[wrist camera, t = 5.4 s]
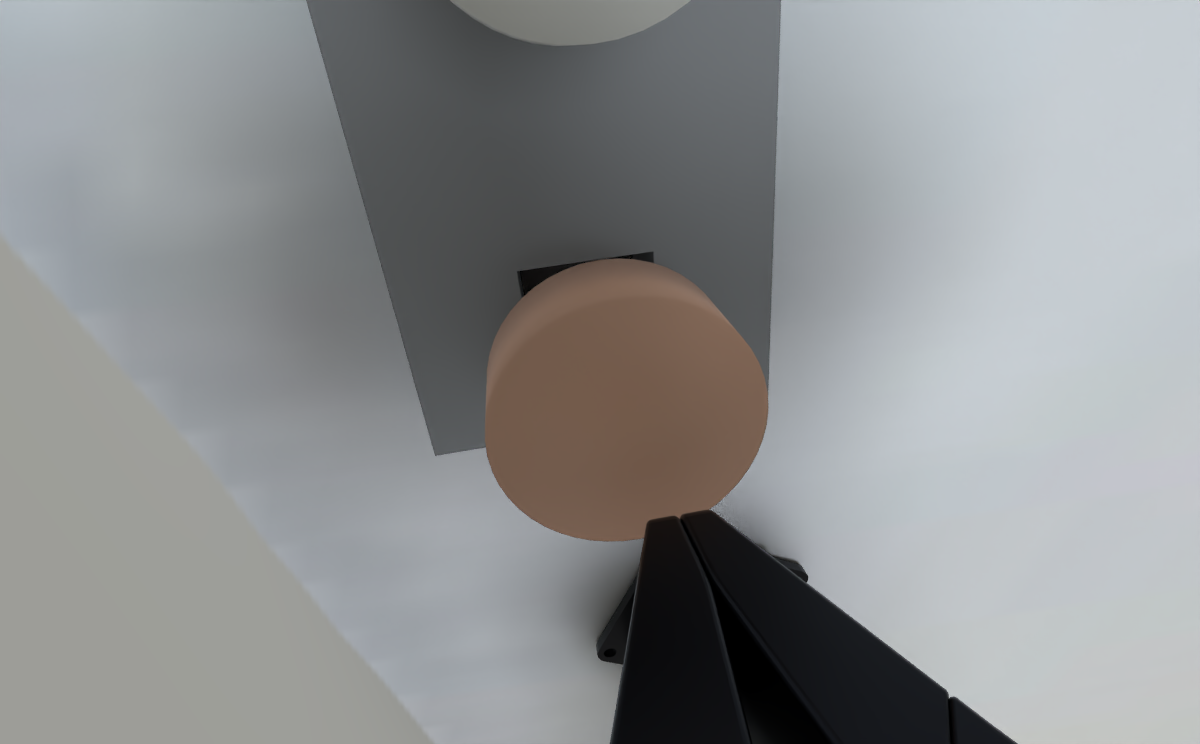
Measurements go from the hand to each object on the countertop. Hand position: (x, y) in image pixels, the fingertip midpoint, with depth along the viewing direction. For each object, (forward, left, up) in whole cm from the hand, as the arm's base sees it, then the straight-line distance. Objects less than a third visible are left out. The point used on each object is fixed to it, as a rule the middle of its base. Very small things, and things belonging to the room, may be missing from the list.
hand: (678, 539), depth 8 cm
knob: (0, 0, -8) cm, 8 cm away
